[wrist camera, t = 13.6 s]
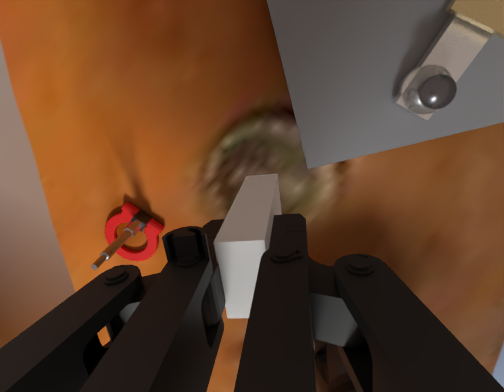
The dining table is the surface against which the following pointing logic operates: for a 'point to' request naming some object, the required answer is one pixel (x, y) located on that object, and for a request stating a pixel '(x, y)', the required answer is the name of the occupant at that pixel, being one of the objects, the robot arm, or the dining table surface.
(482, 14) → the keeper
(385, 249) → the dining table surface
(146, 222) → the tow hook
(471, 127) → the base plate
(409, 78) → the lever
